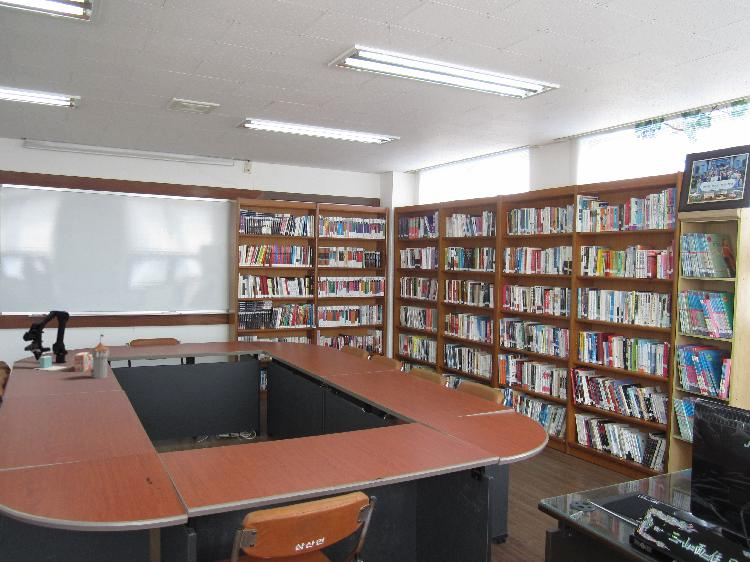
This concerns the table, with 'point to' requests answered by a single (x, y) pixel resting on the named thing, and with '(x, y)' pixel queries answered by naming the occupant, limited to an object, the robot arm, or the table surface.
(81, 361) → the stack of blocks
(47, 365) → the turquoise box
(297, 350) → the table surface
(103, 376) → the model building
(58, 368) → the mat
